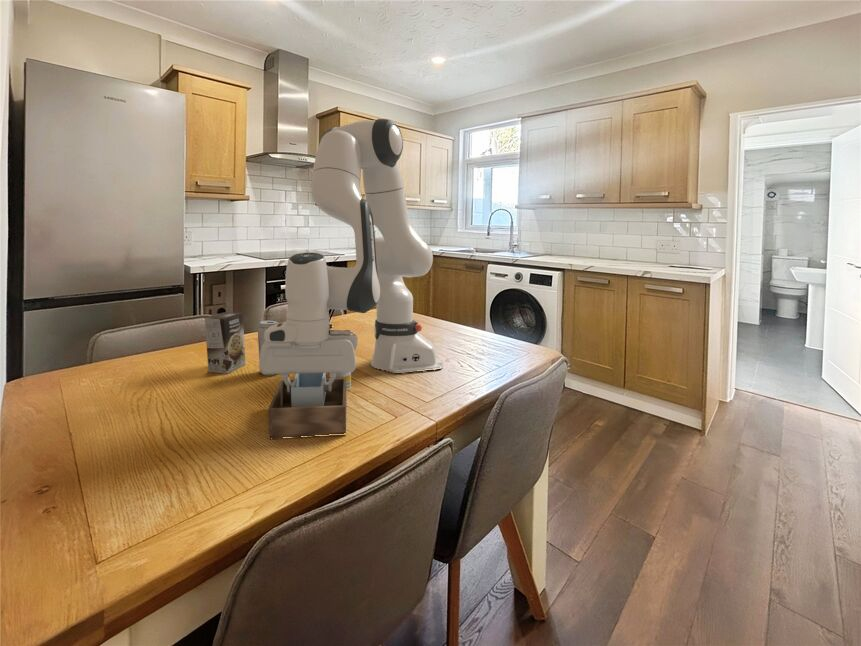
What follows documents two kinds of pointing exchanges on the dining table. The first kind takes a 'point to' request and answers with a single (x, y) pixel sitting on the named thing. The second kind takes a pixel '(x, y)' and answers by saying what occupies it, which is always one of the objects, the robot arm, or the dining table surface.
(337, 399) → the large crate
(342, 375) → the supplement bottle
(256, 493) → the dining table surface
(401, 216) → the robot arm
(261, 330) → the energy drink can
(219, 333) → the coffee box
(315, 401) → the small crate
